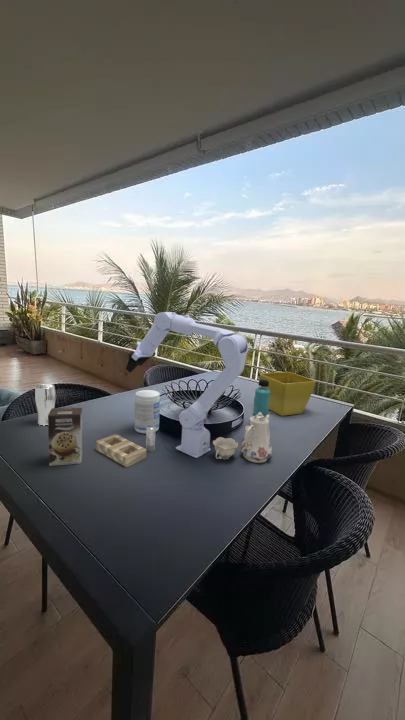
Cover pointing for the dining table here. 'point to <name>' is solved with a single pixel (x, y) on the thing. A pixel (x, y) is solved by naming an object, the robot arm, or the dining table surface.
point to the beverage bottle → (262, 398)
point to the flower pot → (288, 392)
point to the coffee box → (65, 436)
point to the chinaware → (248, 441)
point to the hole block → (121, 450)
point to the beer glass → (44, 401)
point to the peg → (150, 438)
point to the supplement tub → (146, 410)
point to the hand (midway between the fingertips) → (133, 367)
